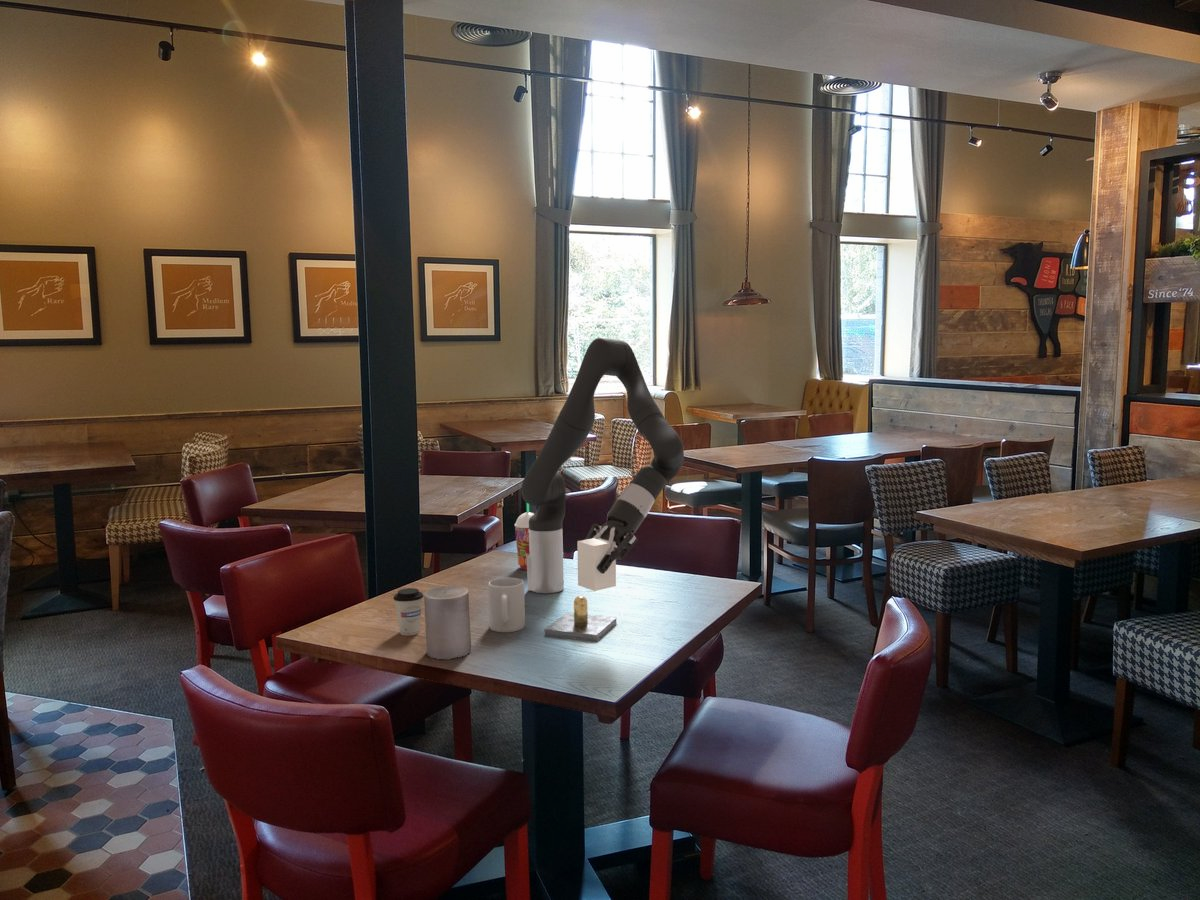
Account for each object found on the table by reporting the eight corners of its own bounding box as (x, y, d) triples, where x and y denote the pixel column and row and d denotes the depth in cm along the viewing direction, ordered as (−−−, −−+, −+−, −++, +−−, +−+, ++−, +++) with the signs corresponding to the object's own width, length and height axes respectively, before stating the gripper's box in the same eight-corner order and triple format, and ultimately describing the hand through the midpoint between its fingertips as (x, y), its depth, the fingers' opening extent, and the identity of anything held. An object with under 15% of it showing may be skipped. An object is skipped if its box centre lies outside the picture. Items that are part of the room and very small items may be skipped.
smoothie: (510, 568, 256) (508, 504, 254) (530, 563, 262) (528, 500, 260) (528, 572, 251) (526, 506, 248) (549, 567, 257) (547, 503, 254)
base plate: (544, 635, 194) (543, 601, 193) (566, 618, 206) (565, 586, 205) (596, 641, 189) (596, 606, 189) (616, 623, 202) (615, 591, 201)
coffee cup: (393, 629, 200) (391, 588, 199) (422, 625, 203) (420, 585, 202) (396, 638, 194) (394, 596, 193) (427, 634, 196) (425, 593, 195)
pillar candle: (439, 643, 190) (436, 578, 189) (479, 646, 188) (475, 581, 186) (418, 658, 181) (414, 591, 179) (459, 662, 178) (456, 593, 177)
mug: (491, 621, 205) (489, 577, 204) (526, 620, 205) (525, 576, 204) (486, 638, 193) (484, 591, 192) (523, 637, 193) (522, 590, 192)
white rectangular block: (577, 585, 187) (577, 541, 185) (599, 580, 190) (598, 537, 189) (594, 591, 182) (594, 546, 181) (615, 586, 186) (615, 541, 185)
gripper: (602, 494, 194) (561, 552, 188) (643, 502, 183) (601, 565, 177) (619, 513, 198) (580, 571, 192) (661, 523, 187) (620, 584, 181)
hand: (590, 568), depth 185 cm, fingers closed on white rectangular block, 6 cm apart
